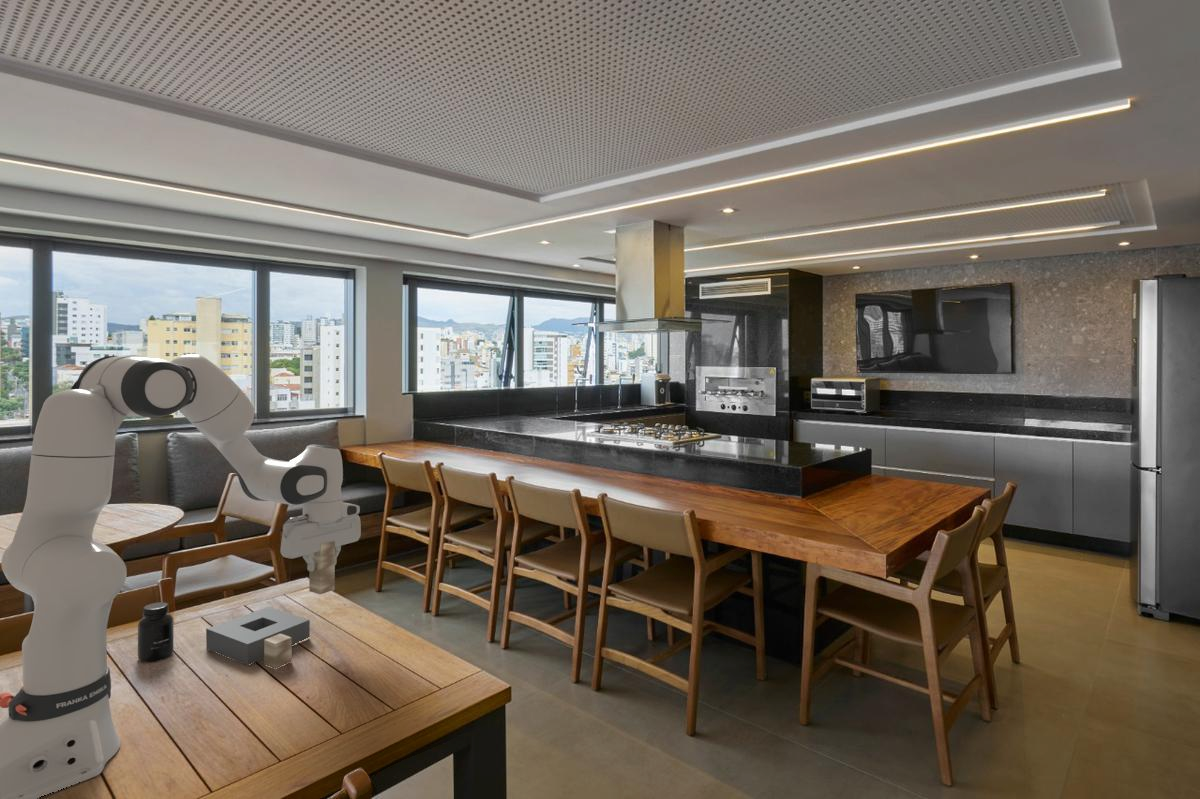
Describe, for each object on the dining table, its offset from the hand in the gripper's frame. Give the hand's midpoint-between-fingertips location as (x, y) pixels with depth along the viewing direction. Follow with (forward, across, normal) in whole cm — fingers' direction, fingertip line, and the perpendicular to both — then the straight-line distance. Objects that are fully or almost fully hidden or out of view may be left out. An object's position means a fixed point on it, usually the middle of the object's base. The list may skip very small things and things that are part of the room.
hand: (322, 567), depth 155 cm
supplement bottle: (+20, -24, +27) cm, 41 cm away
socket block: (+19, -8, +13) cm, 24 cm away
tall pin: (+6, 0, 0) cm, 6 cm away
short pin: (+19, -12, 0) cm, 23 cm away
